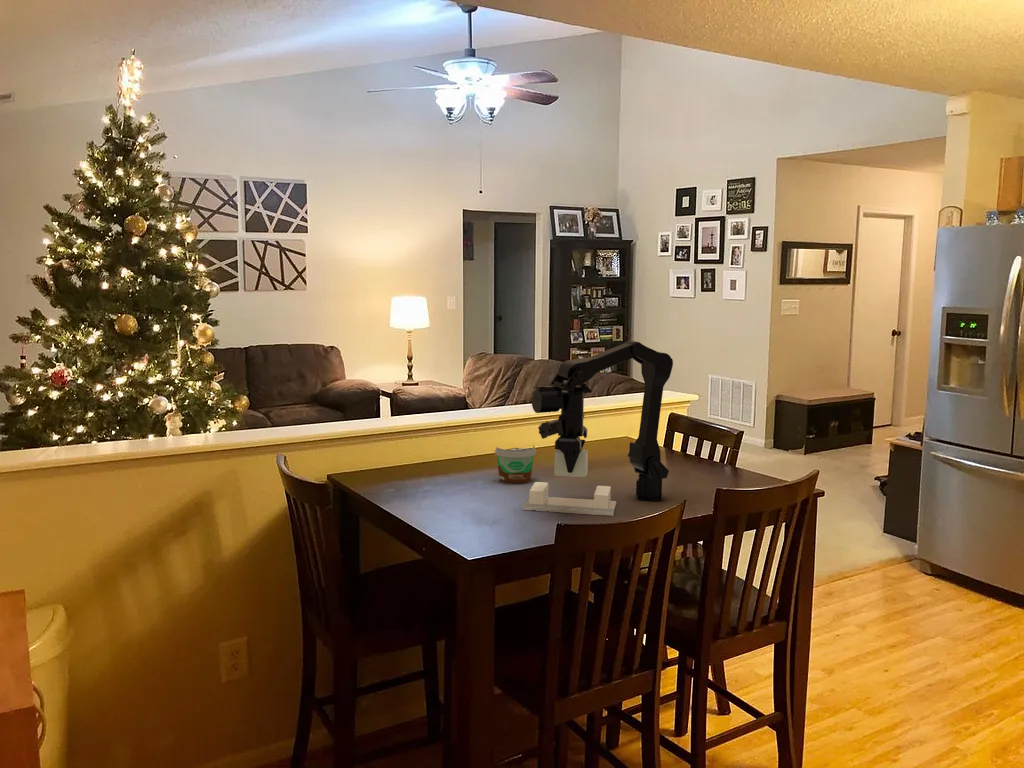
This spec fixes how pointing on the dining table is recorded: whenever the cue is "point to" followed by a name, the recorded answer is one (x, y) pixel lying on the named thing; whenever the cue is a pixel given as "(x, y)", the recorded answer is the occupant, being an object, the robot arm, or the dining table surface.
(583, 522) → the dining table surface
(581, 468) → the block
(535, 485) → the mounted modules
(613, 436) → the dining table surface
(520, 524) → the dining table surface
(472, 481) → the dining table surface
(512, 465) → the food container
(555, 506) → the rail plate
